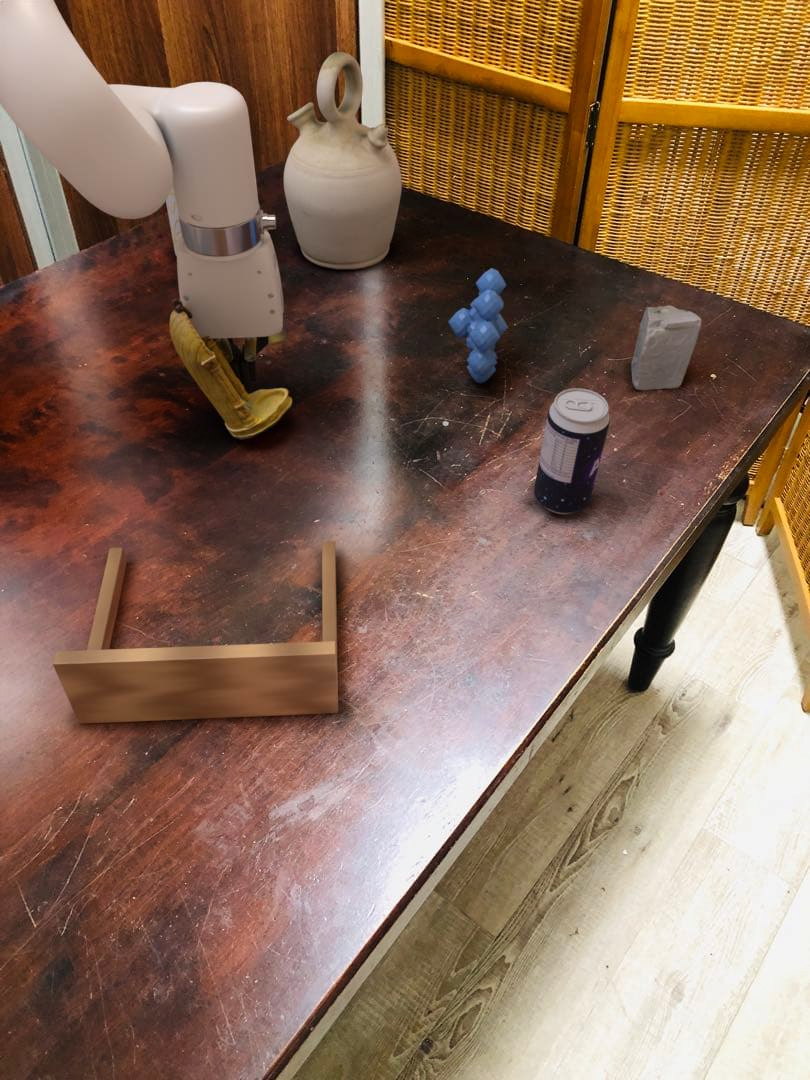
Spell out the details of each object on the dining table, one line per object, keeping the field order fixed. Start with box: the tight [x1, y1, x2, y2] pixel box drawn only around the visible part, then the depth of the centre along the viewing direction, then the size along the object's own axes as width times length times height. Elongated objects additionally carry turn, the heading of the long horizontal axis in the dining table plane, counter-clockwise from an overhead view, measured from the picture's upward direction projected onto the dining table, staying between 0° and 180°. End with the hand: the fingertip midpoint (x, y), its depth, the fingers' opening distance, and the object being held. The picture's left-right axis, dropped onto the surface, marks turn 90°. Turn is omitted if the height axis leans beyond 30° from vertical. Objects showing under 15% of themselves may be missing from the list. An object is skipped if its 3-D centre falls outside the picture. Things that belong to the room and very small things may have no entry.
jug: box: [283, 51, 403, 271], centre depth 113 cm, size 15×16×25 cm
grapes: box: [448, 267, 509, 384], centre depth 99 cm, size 12×7×12 cm, turn 172°
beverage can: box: [533, 387, 611, 515], centre depth 84 cm, size 6×6×12 cm
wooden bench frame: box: [52, 541, 339, 725], centre depth 73 cm, size 20×17×8 cm
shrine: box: [169, 298, 294, 441], centre depth 90 cm, size 12×8×15 cm
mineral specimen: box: [630, 304, 703, 391], centre depth 101 cm, size 7×9×8 cm
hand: (244, 384), depth 97 cm, fingers closed
